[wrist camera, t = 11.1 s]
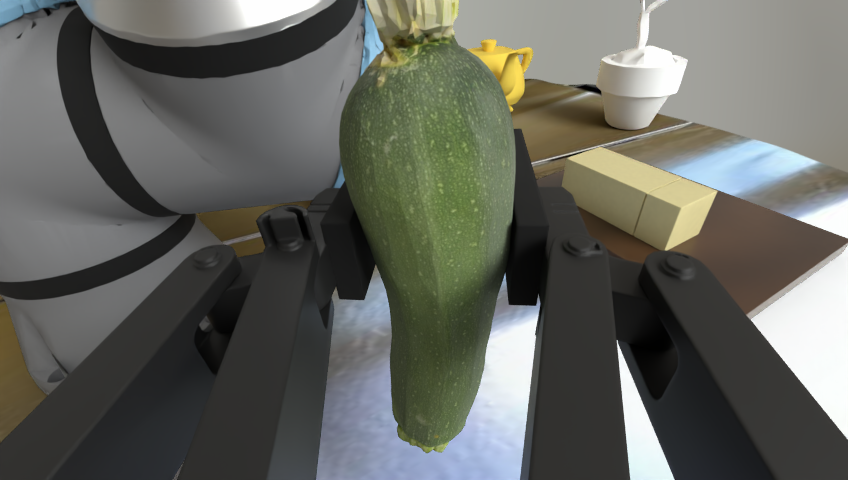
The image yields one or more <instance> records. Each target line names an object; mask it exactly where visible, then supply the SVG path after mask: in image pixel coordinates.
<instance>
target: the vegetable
mask: <svg viewBox="0 0 848 480" xmlns="http://www.w3.org/2000/svg"><path fill="white" fill-rule="evenodd" d="M366 2H367V6H368V10H369V12H370V14H371V16H372V19H373V21H374V23H375V25H376V28H377V32H378V35H379V39H380V41H381V42H382V43H383V51H382V52H381V53H380V54H377V56H376V57H375V58H374V59H373V61H372V62H371V63H370V64H369V65H368V66H367V68H366V69H365V70H364V73H363V74H362V75H361V76H360V78H359V79H358V80H357V82H356V83H355V85H354V86H353V88H352V89H351V91H350V93H349V95H348V97H347V100H346V103H345V105H344V108H343V111H342V113H341V120H340V127H339V150H340V160H341V165H342V170H343V175H344V179H345V182H346V185H347V188H348V191H349V195H350V198H351V201H352V203H353V206H354V208H355V211H356V213H357V216H358V219H359V221H360V224H361V226H362V229H363V232H364V234H365V237H366V239H367V242H368V244H369V247H370V249H371V252H372V255H373V258H374V260H375V263H376V266H377V268H378V270H379V273H380V275H381V278H382V281H383V283H384V286H385V289H386V292H387V297H388V302H389V307H390V315H391V326H392V342H391V353H390V372H391V396H392V411H393V415H394V418H395V420H396V422H397V423H398V427H397V432H398V437H399V438H400V439H402V440H403V441H406V442H409V443H410V445H412V446H418V447H420V448H421V449H422V450H423V451H424V452H425V453H429V452H430V451H432V450H434V451H437V452H443V450H444V449H445V448H446V446H447V445H448V443H449V441H451V440H452V439H453V438H454V437H455V436H457V435H458V434H459V433H460V432H461V431H462V429H463V427H464V426H465V422H466V418H467V416H468V414H469V411H470V409H471V407H472V405H473V402H474V399H475V397H476V395H477V392H478V388H479V385H480V382H481V377H482V373H483V370H484V363H485V353H486V347H487V343H488V339H489V335H490V331H491V326H492V319H493V315H494V311H495V306H496V300H497V296H498V293H499V290H500V287H501V284H502V281H503V278H504V275H505V271H506V267H507V262H508V258H509V253H510V242H511V229H512V215H513V201H514V186H515V172H516V150H515V136H514V129H513V123H512V117H511V112H510V109H509V106H508V103H507V100H506V97H505V94H504V92H503V89H502V87H501V84H500V83H499V81H498V80H497V78H496V77H495V75H494V74H493V72H492V71H491V70H490V69H489V67H488V66H487V65H486V64H485V63H484V62H483V61H482V60H481V59H480V58H479V57H477V56H476V55H474V54H473V53H471V52H470V51H469V50H467V49H465V48H463V47H461V46H459V45H458V44H457V42H456V40H455V38H454V34H455V32H454V31H453V29H452V27H453V23H454V20H455V19H456V17H457V16H458V5H459V1H458V0H366Z"/></svg>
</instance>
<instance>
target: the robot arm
mask: <svg viewBox="0 0 848 480" xmlns="http://www.w3.org/2000/svg"><path fill="white" fill-rule="evenodd" d="M382 51H383V43H382V42H381V41H380V39H379V35H378V32H377V28H376V25H375V23H374V21H373V19H372V16H371V14H370V12H369V10H368V6H367V2H366V0H0V295H1V297H2V298H3V299H4V300H5V302H6V304H7V307H8V310H9V313H10V316H11V319H12V322H13V325H14V329H15V332H16V335H17V338H18V341H19V344H20V347H21V350H22V354H23V357H24V360H25V363H26V366H27V369H28V372H29V374H30V375H31V377H32V378H33V380H34V381H35V383H36V384H37V386H38V387H39V388H40V389H41V390H42V391H43V392H44V393H45V394H46V395H47V397H46V398H45V399H44V400H43V401H42V402H41V403H40V404H39V405H38V406H37V407H36V408H35V409H34V410H33V411H32V412H31V413H30V414H29V415H28V416H27V417H26V418H25V419H24V420H23V421H22V422H21V423H20V424H19V425H18V426H17V427H16V428H15V429H14V430H13V431H12V432H11V433H10V434H9V435H8V436H7V437H6V438H5V439H4V440H3V441H2V442H1V443H0V480H172V479H173V478H174V476H175V474H176V473H177V471H178V469H179V468H180V466H181V464H182V463H183V461H184V463H183V466H182V468H181V471H180V474H179V476H178V479H177V480H316V473H317V464H318V455H319V446H320V436H321V427H322V418H323V409H324V399H325V390H326V381H327V372H328V362H329V353H330V344H331V335H332V325H333V316H334V305H333V301H332V294H333V292H334V289H335V287H337V291H338V295H339V299H349V300H364V299H365V296H366V293H367V290H368V286H369V283H370V280H371V277H372V274H373V271H374V268H375V264H376V263H375V260H374V258H373V255H372V252H371V249H370V247H369V244H368V242H367V239H366V237H365V234H364V232H363V229H362V226H361V224H360V221H359V219H358V216H357V213H356V211H355V208H354V206H353V203H352V201H351V198H350V195H349V191H348V188H347V185H346V182H345V179H344V175H343V170H342V165H341V160H340V150H339V127H340V120H341V113H342V111H343V108H344V105H345V103H346V100H347V97H348V95H349V93H350V91H351V89H352V88H353V86H354V85H355V83H356V82H357V80H358V79H359V78H360V76H361V75H362V74H363V73H364V70H365V69H366V68H367V66H368V65H369V64H370V63H371V62H372V61H373V59H374V58H375V57H376V56H377V54H380V53H381V52H382ZM514 136H515V150H516V172H515V186H514V201H513V215H512V229H511V242H510V253H509V258H508V262H507V267H506V271H505V273H506V282H507V292H508V301H509V305H531V306H536V304H537V298H538V293H539V298H540V303H541V304H540V310H539V316H538V321H537V327H536V333H535V335H536V342H535V351H534V360H533V369H532V378H531V387H530V396H529V404H528V413H527V422H526V431H525V440H524V449H523V458H522V467H521V476H520V480H630V474H629V463H628V453H627V443H626V433H625V422H624V412H623V402H622V391H621V381H620V371H619V361H618V350H617V340H618V344H619V346H620V349H621V351H622V354H623V356H624V359H625V361H626V363H627V366H628V368H629V371H630V373H631V375H632V378H633V380H634V383H635V385H636V387H637V390H638V392H639V395H640V397H641V399H642V402H643V404H644V407H645V409H646V412H647V414H648V416H649V419H650V421H651V424H652V426H653V428H654V431H655V433H656V436H657V438H658V440H659V443H660V445H661V448H662V450H663V452H664V455H665V457H666V460H667V462H668V465H669V467H670V469H671V472H672V474H673V477H674V479H675V480H848V440H847V438H846V437H845V436H844V435H843V433H842V432H841V431H840V430H839V428H838V427H837V426H836V425H835V424H834V422H833V421H832V420H831V419H830V417H829V416H828V415H827V414H826V412H825V411H824V410H823V409H822V407H821V406H820V405H819V404H818V403H817V401H816V400H815V399H814V398H813V396H812V395H811V394H810V393H809V391H808V390H807V389H806V388H805V387H804V385H803V384H802V383H801V382H800V380H799V379H798V378H797V377H796V375H795V374H794V373H793V372H792V371H791V369H790V368H789V367H788V366H787V364H786V363H785V362H784V361H783V359H782V358H781V357H780V356H779V355H778V353H777V352H776V351H775V350H774V348H773V347H772V346H771V345H770V343H769V342H768V341H767V340H766V338H765V337H764V336H763V335H762V334H761V332H760V331H759V330H758V329H757V327H756V326H755V325H754V324H753V322H752V321H751V320H750V319H749V318H748V316H747V315H746V314H745V313H744V311H743V310H742V309H741V308H740V306H739V305H738V304H737V303H736V302H735V300H734V299H733V298H732V297H731V295H730V294H729V293H728V292H727V290H726V289H725V288H724V287H723V286H722V284H721V283H720V282H719V281H718V279H717V278H716V277H715V276H714V274H713V273H712V272H711V271H710V269H709V268H708V267H706V266H705V265H704V264H703V263H702V262H701V261H699V260H697V259H695V258H693V257H691V256H690V255H687V254H684V253H680V252H676V251H667V250H663V251H655V252H653V253H651V254H649V255H647V257H646V259H645V261H644V264H642V263H638V262H633V261H628V260H624V259H620V258H616V257H613V256H611V255H609V254H608V251H607V249H606V246H605V245H604V244H603V243H602V242H600V241H599V240H598V239H596V238H594V237H592V236H590V235H589V233H588V230H587V228H586V226H585V223H584V221H583V219H582V216H581V214H580V213H579V209H578V207H577V205H576V202H575V200H574V198H573V195H572V194H571V193H570V192H568V191H567V190H566V189H565V188H563V187H538V185H537V181H536V178H535V174H534V171H533V167H532V164H531V161H530V157H529V154H528V150H527V147H526V144H525V140H524V137H523V133H522V130H521V129H514ZM308 200H313V201H312V202H311V204H310V206H309V207H308V208H307V210H306V209H305V208H304V207H302V206H298V205H284V206H279V207H276V208H273V209H270V210H268V211H266V212H265V213H263V214H262V215H260V216H259V218H258V219H257V220H256V222H257V225H258V228H259V230H260V233H261V236H262V238H263V241H264V244H265V246H266V247H265V249H264V252H263V253H259V254H254V255H248V256H243V257H237V255H236V252H235V250H234V249H233V248H232V247H230V246H228V245H224V244H223V243H222V242H221V241H220V240H219V239H218V238H217V237H216V236H215V235H214V234H213V233H212V232H211V231H210V230H209V229H208V228H207V227H206V226H205V225H204V224H203V223H202V222H201V221H200V220H199V219H198V217H197V215H196V213H202V212H211V211H220V210H229V209H237V208H246V207H255V206H264V205H273V204H282V203H291V202H299V201H308ZM184 459H185V460H184Z"/></svg>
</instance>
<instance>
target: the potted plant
mask: <svg viewBox="0 0 848 480" xmlns="http://www.w3.org/2000/svg"><path fill="white" fill-rule="evenodd" d="M666 1H668V0H656V1H655V2H654V3H652V4H651V5H649V6H648V8H647V9H646V11H645V2H644V0H640V3H641V9H642V11H641V13H640V16H639V19H638V23H637V34H638V35H637V36H638V38H637V43H636V48H633V49H630V50H623V51H620V52H619V53H618V54H613V55H607V56H605V57H604V58H603V59H601V64H600V69H599V74H598V79H597V84H596V86H597V87H598V88H599V89H600V90H601V91H602V98H603V106H604V114H605V121H606V122H607V123H608V124H609V125H611V126H612V127H615V128H618V129H625V130H638V129H641V128H645V127H647V126H649V124H650V123H651V121H652V120H653V118H654V117H655V115H656V114H657V112H658V111H659V109H660V108H661V106H662V105H663V103H664V102H665V101H666V99H667V98H668V96H669V95H671V94H675V93H677V91H678V89H679V86H680V83H681V80H682V77H683V74H684V71H685V67H686V64H687V61H688V60H687V59H684V58H682V57H680V56H675V55H672V54H671V52H670V51H667V50H663V49H660V48H657V47H654V46H645V44H646V42H647V39H648V30H649V29H648V28H649V13H650V12H651V11H653V10H654V9H656V8H657V7H659V6H660V5H662V4H663V3H665V2H666Z"/></svg>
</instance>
